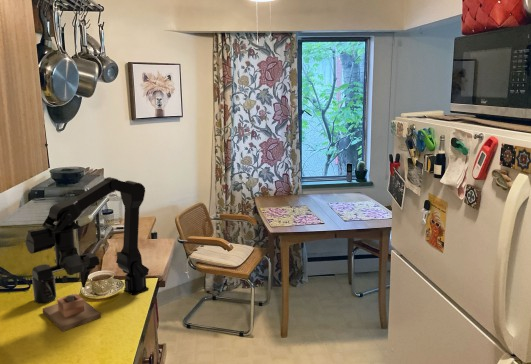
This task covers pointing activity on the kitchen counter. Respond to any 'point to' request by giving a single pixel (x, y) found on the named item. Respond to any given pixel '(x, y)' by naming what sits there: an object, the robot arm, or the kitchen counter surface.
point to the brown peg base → (72, 320)
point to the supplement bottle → (43, 291)
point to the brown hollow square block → (70, 305)
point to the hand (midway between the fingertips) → (69, 291)
